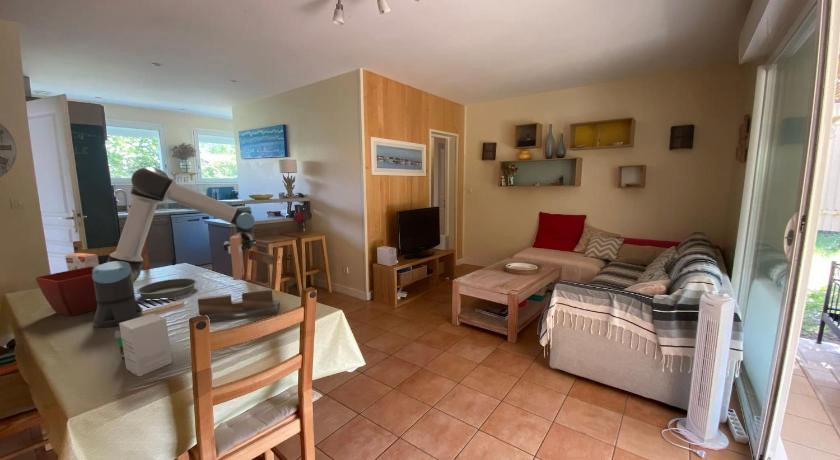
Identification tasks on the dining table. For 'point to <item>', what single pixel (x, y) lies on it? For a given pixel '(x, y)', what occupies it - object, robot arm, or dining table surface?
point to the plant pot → (69, 291)
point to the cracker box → (81, 260)
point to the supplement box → (145, 344)
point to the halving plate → (236, 257)
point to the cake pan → (167, 288)
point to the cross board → (243, 313)
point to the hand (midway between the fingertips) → (234, 250)
